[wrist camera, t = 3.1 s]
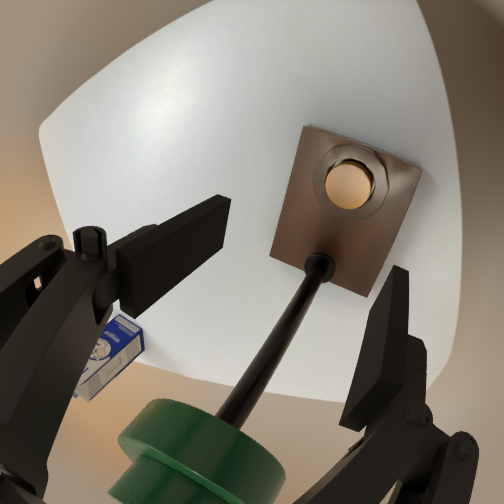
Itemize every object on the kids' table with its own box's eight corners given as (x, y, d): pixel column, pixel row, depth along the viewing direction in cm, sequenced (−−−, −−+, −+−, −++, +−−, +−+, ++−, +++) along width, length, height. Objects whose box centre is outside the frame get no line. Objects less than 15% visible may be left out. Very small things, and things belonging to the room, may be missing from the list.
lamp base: (420, 166, 26) (424, 173, 23) (369, 287, 34) (364, 307, 31) (309, 125, 29) (297, 126, 26) (276, 248, 37) (262, 263, 34)
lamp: (372, 258, 28) (253, 571, 6) (340, 324, 33) (224, 563, 11) (288, 223, 31) (61, 450, 9) (267, 293, 35) (104, 492, 14)
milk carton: (142, 329, 58) (73, 391, 42) (145, 350, 62) (83, 409, 46) (118, 313, 60) (50, 368, 44) (121, 334, 64) (60, 388, 48)
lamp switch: (377, 170, 25) (376, 174, 24) (363, 210, 27) (361, 216, 26) (336, 154, 26) (332, 157, 25) (324, 194, 28) (319, 199, 27)
